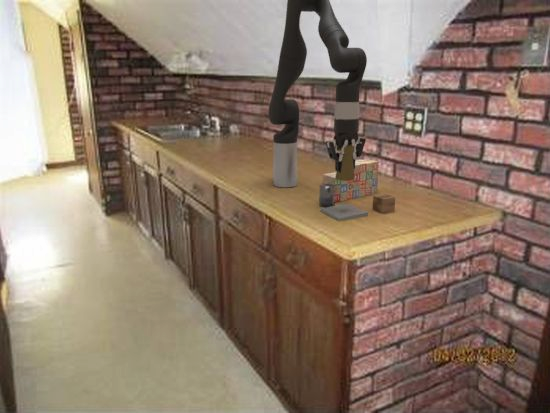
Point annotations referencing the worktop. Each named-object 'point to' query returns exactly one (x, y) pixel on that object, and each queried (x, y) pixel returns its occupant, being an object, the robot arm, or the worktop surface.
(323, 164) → the worktop surface
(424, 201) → the worktop surface
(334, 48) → the robot arm
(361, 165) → the stack of blocks
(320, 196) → the metal tin
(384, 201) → the walnut block
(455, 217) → the worktop surface
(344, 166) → the brown rounded figure
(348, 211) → the slate tile
